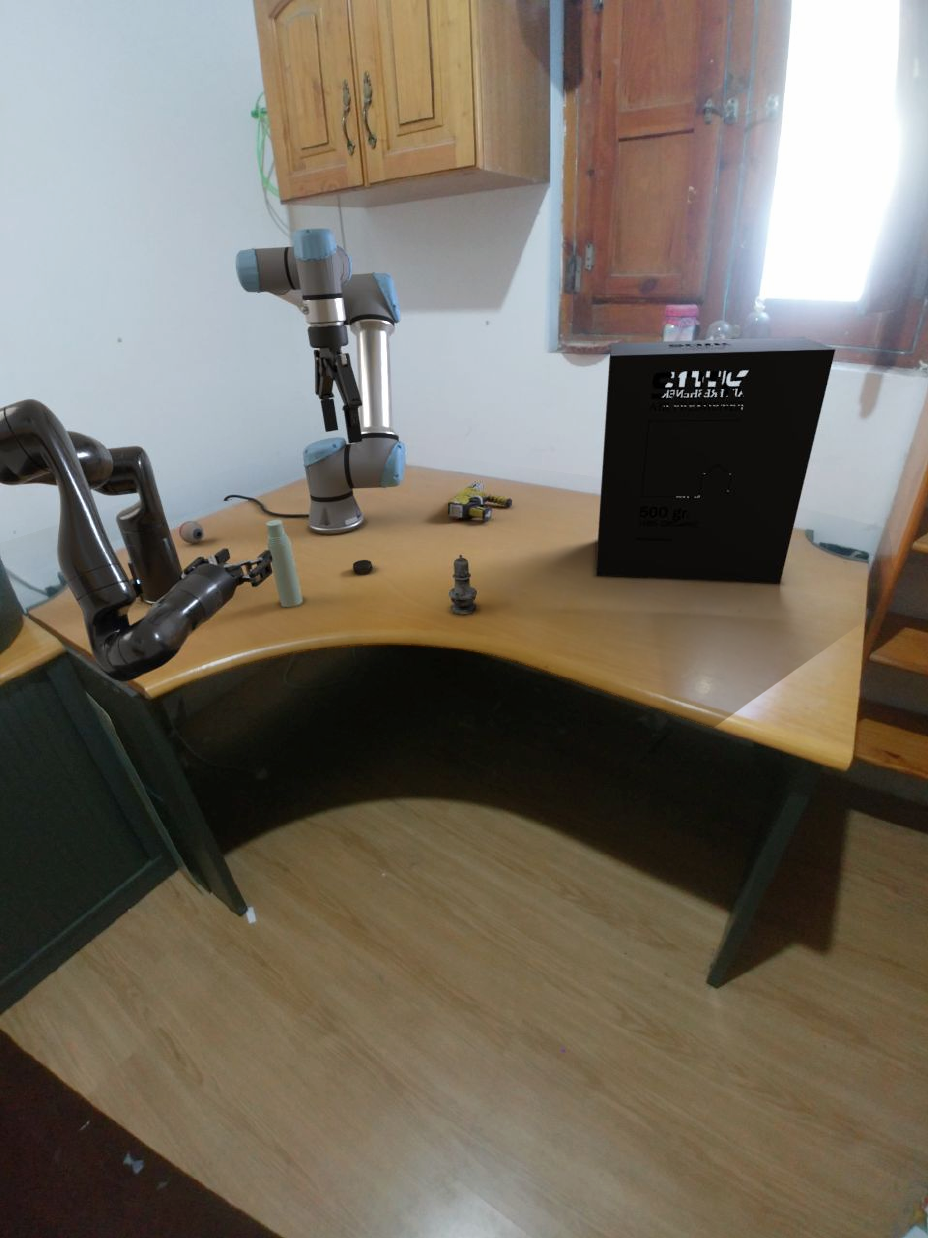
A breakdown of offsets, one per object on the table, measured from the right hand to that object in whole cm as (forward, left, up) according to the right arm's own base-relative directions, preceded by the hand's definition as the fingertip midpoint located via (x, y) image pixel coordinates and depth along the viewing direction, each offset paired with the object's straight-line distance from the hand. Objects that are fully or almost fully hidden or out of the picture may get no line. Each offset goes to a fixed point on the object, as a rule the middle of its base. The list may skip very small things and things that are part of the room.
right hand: (343, 436), depth 127 cm
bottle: (+3, -19, -31) cm, 37 cm away
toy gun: (-13, +47, -31) cm, 58 cm away
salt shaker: (+31, +7, -31) cm, 44 cm away
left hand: (+11, -28, -15) cm, 33 cm away
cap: (0, 0, -30) cm, 30 cm away
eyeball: (-47, -26, -31) cm, 62 cm away
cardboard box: (+46, +58, -31) cm, 80 cm away
